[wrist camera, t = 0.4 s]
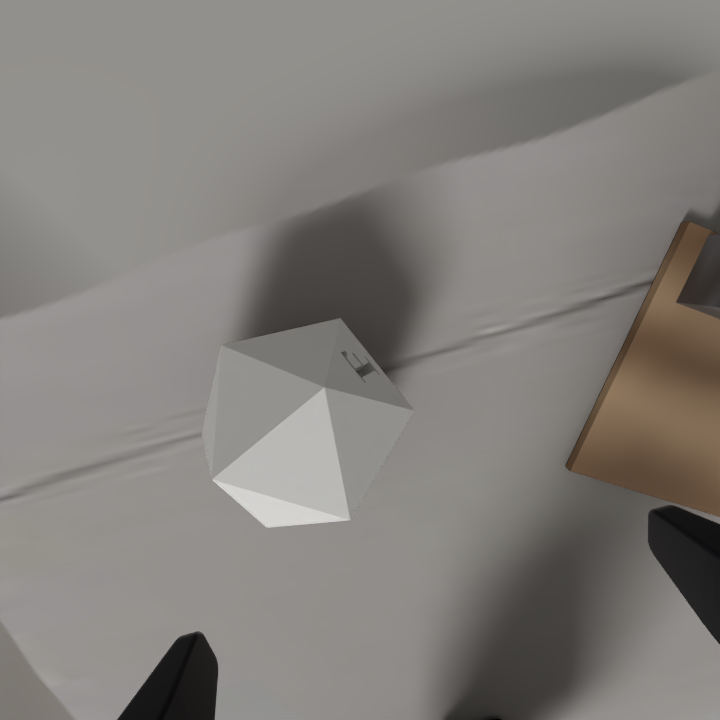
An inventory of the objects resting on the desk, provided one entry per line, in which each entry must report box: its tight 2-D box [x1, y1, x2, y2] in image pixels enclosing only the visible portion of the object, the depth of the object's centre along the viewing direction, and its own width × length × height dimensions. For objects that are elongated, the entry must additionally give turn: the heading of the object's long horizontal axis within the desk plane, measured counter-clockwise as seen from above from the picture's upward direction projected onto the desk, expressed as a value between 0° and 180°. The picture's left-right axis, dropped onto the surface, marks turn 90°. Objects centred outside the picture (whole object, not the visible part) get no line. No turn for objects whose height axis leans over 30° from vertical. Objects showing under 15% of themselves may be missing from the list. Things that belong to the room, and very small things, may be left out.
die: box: [202, 318, 414, 528], centre depth 18 cm, size 8×9×10 cm
